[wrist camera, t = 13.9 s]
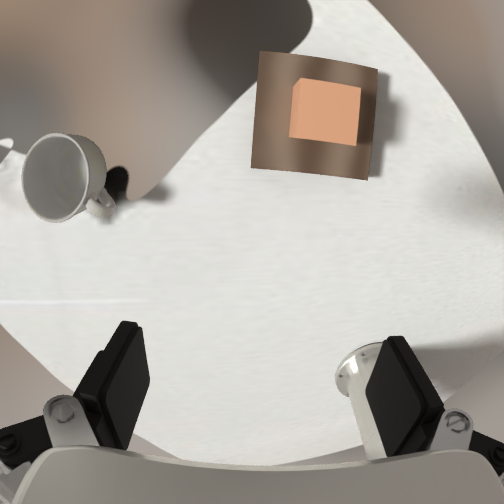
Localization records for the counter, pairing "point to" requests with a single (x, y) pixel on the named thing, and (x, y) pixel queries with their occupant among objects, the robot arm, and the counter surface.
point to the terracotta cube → (325, 111)
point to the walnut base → (279, 115)
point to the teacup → (65, 178)
